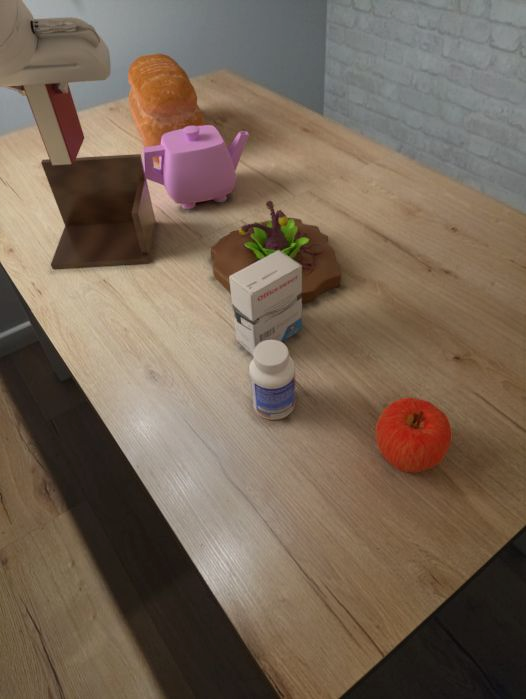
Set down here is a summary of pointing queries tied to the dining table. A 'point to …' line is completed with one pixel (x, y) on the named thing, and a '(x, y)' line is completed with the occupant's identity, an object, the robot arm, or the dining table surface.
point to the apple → (413, 434)
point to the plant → (289, 239)
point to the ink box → (267, 300)
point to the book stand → (102, 211)
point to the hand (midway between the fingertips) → (45, 89)
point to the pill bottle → (272, 380)
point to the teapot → (195, 164)
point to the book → (56, 122)
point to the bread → (161, 98)
